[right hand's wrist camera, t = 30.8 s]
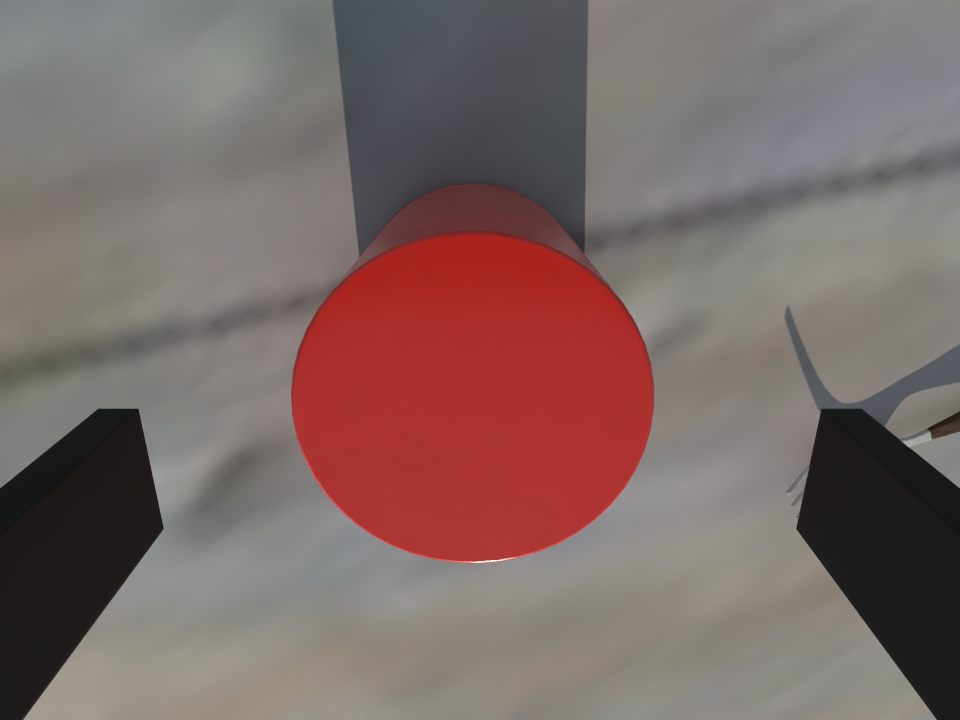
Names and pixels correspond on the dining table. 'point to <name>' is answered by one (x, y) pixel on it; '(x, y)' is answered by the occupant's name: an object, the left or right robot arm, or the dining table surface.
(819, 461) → the right robot arm
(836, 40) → the dining table surface
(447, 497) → the canister
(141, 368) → the dining table surface
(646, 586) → the dining table surface
